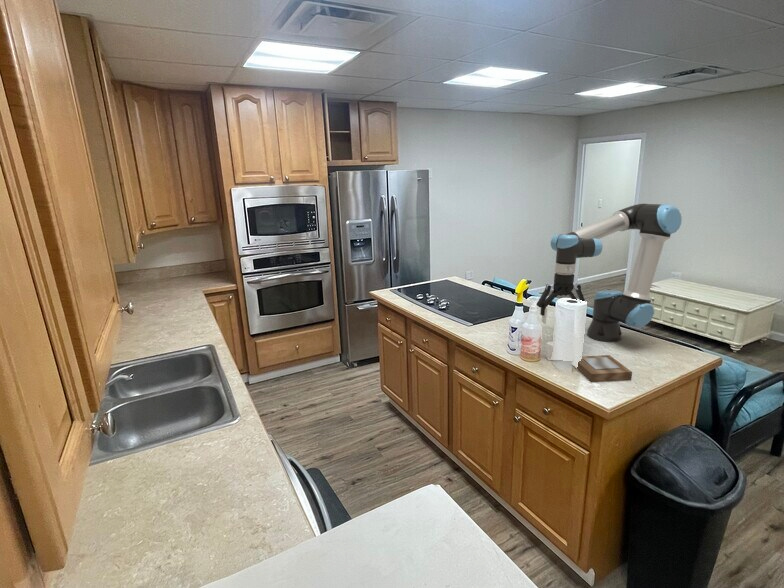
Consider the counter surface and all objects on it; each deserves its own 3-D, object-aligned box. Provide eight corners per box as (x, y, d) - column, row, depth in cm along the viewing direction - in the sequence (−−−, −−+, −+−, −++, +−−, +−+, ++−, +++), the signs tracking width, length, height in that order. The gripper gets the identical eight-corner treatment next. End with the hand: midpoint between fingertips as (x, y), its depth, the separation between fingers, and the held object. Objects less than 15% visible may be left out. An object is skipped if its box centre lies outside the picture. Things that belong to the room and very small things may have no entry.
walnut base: (608, 362, 178) (609, 353, 177) (631, 380, 163) (632, 370, 162) (571, 364, 177) (572, 355, 176) (590, 382, 162) (591, 372, 161)
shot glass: (547, 353, 189) (549, 339, 187) (563, 357, 184) (564, 342, 182) (542, 359, 183) (543, 344, 182) (558, 363, 179) (559, 347, 177)
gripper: (537, 275, 168) (533, 326, 173) (599, 274, 169) (593, 324, 174) (531, 271, 175) (527, 320, 180) (589, 270, 176) (584, 318, 181)
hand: (559, 322), depth 177 cm, fingers open, 13 cm apart
